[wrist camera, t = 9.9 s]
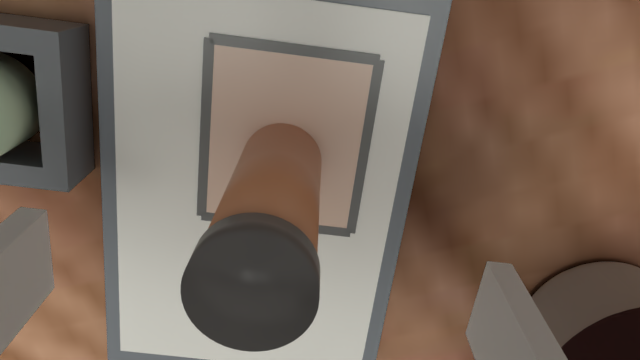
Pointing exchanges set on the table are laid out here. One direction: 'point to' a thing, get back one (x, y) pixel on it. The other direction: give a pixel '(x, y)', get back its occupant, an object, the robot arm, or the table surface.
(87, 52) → the button housing
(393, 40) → the picture board
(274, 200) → the marker
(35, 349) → the table surface
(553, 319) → the coffee cup
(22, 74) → the button
